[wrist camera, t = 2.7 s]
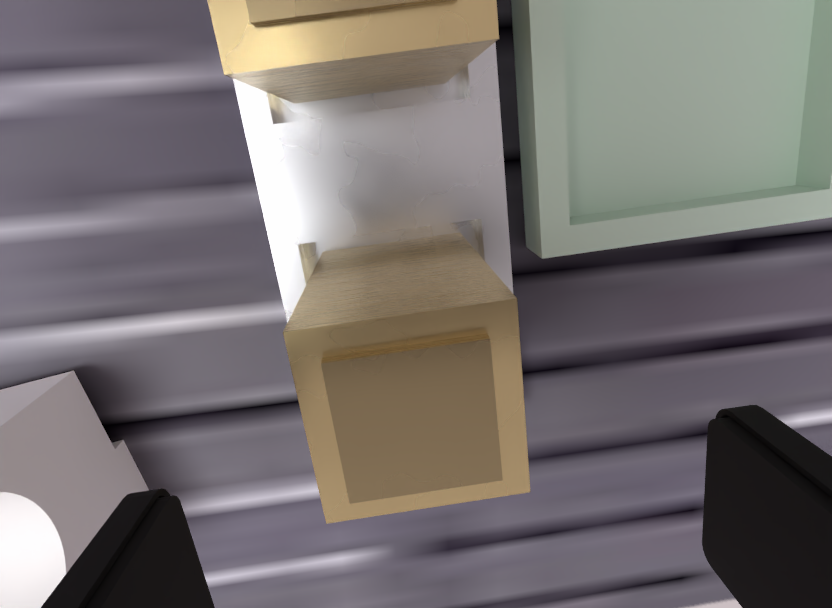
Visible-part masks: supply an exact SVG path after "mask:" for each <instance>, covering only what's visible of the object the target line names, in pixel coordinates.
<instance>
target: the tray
mask: <svg viewBox="0 0 832 608" xmlns="http://www.w3.org/2000/svg"><path fill="white" fill-rule="evenodd" d="M511 9H512V25H513V41H514V58H515V74H516V91H517V107H518V124H519V140H520V156H521V173H522V189H523V206H524V222H525V239H526V247H527V248H528V249H530V250H531V251H532V252H534V253H535V254H536V255H538V256H539V257H540V258H542V259H544V258H551V257H558V256H565V255H572V254H579V253H586V252H593V251H600V250H607V249H614V248H621V247H628V246H635V245H642V244H649V243H656V242H663V241H670V240H677V239H684V238H691V237H698V236H705V235H712V234H719V233H726V232H733V231H740V230H747V229H754V228H761V227H768V226H775V225H782V224H789V223H796V222H803V221H810V220H817V219H824V218H831V217H832V0H511Z"/></svg>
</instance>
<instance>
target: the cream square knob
mask: <svg viewBox="0 0 832 608" xmlns="http://www.w3.org/2000/svg"><path fill="white" fill-rule="evenodd" d="M207 1H208V5H209V10H210V14H211V18H212V23H213V27H214V32H215V36H216V40H217V45H218V49H219V54H220V58H221V62H222V67H223V71H224V75H226V76H228V77H231V78H233V79H236V80H238V81H241V82H243V83H245V84H248V85H250V86H253V87H255V88H258V89H260V90H263V91H265V92H267V93H270V94H272V95H275V96H277V97H280V98H282V99H284V100H287V101H289V102H292V103H294V104H295V103H303V102H310V101H318V100H325V99H333V98H340V97H348V96H355V95H363V94H370V93H378V92H385V91H393V90H400V89H408V88H415V87H423V86H430V85H438V84H445V83H446V82H447V81H449V80H450V79H451V78H452V77H454V76H455V75H456V74H457V73H458V72H460V71H461V70H462V69H463V68H464V67H466V66H467V65H468V64H469V63H470V62H472V61H473V60H474V59H475V58H476V57H478V56H479V55H480V54H481V53H483V52H484V51H485V50H486V49H487V48H489V47H490V46H491V45H492V44H493V43H495V42H496V41H497V40H498V39H499V29H498V14H497V0H207Z"/></svg>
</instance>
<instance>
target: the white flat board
mask: <svg viewBox="0 0 832 608" xmlns="http://www.w3.org/2000/svg"><path fill="white" fill-rule="evenodd" d="M233 81H234V86H235V90H236V95H237V99H238V104H239V108H240V113H241V117H242V121H243V126H244V130H245V135H246V139H247V144H248V148H249V153H250V157H251V162H252V166H253V171H254V175H255V180H256V184H257V189H258V193H259V198H260V202H261V207H262V211H263V216H264V220H265V225H266V229H267V234H268V238H269V243H270V247H271V252H272V256H273V260H274V265H275V269H276V274H277V278H278V283H279V287H280V292H281V296H282V301H283V305H284V310H285V314H286V319H287V323H288V321H289V319H290V317H291V315H292V313H293V311H294V309H295V307H296V305H297V303H298V301H299V299H300V297H301V295H302V293H303V291H304V289H305V287H306V285H307V283H308V281H309V279H310V276H311V274H312V272H313V270H314V268H315V266H316V264H317V262H318V260H319V258H320V256H321V254H322V252H325V251H332V250H339V249H346V248H353V247H360V246H367V245H374V244H381V243H389V242H396V241H403V240H410V239H417V238H424V237H431V236H438V235H445V234H452V233H461V234H462V235H463V236H464V237H465V239H466V240H467V241H468V242H469V243H470V244H471V246H472V247H473V248H474V249H475V250H476V251H477V253H478V254H479V255H480V256H481V257H482V258H483V259H484V261H485V262H486V263H487V264H488V265H489V266H490V268H491V269H492V270H493V271H494V272H495V273H496V275H497V276H498V277H499V278H500V279H501V280H502V282H503V283H504V284H505V285H506V286H507V287H508V288H509V290H510V291H511V292H512V293H513V281H512V267H511V253H510V239H509V225H508V211H507V197H506V183H505V169H504V155H503V141H502V126H501V112H500V98H499V84H498V70H497V56H496V42H495V43H493V44H492V45H491V46H490V47H489V48H487V49H486V50H485V51H484V52H483V53H481V54H480V55H479V56H478V57H476V58H475V59H474V60H473V61H472V62H470V63H469V64H468V65H467V66H466V67H464V68H463V69H462V70H461V71H460V72H458V73H457V74H456V75H455V76H454V77H452V78H451V79H450V80H449V81H447V82H446V83H445V84H438V85H430V86H423V87H415V88H408V89H400V90H393V91H385V92H378V93H370V94H363V95H355V96H348V97H340V98H333V99H325V100H318V101H310V102H303V103H295V104H294V103H292V102H289V101H287V100H284V99H282V98H280V97H277V96H275V95H272V94H270V93H267V92H265V91H263V90H260V89H258V88H255V87H253V86H250V85H248V84H245V83H243V82H241V81H238V80H236V79H233Z"/></svg>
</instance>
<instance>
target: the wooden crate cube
mask: <svg viewBox="0 0 832 608" xmlns="http://www.w3.org/2000/svg"><path fill="white" fill-rule="evenodd" d="M283 335H284V339H285V344H286V348H287V353H288V357H289V361H290V366H291V370H292V375H293V379H294V383H295V388H296V392H297V396H298V401H299V405H300V410H301V414H302V418H303V423H304V427H305V432H306V436H307V440H308V445H309V449H310V454H311V458H312V462H313V467H314V471H315V476H316V480H317V484H318V489H319V493H320V498H321V502H322V506H323V511H324V515H325V520H326V524H327V523H334V522H340V521H346V520H353V519H359V518H366V517H372V516H379V515H385V514H392V513H398V512H405V511H411V510H418V509H424V508H431V507H437V506H443V505H450V504H456V503H463V502H469V501H476V500H482V499H489V498H495V497H502V496H508V495H515V494H521V493H527V492H530V479H529V465H528V450H527V436H526V421H525V407H524V392H523V378H522V363H521V349H520V334H519V320H518V305H517V298H516V297H515V295H514V294H513V293H512V292H511V291H510V290H509V288H508V287H507V286H506V285H505V284H504V283H503V282H502V280H501V279H500V278H499V277H498V276H497V275H496V273H495V272H494V271H493V270H492V269H491V268H490V266H489V265H488V264H487V263H486V262H485V261H484V259H483V258H482V257H481V256H480V255H479V254H478V253H477V251H476V250H475V249H474V248H473V247H472V246H471V244H470V243H469V242H468V241H467V240H466V239H465V237H464V236H463V235H462V234H461V233H452V234H445V235H438V236H431V237H424V238H417V239H410V240H403V241H396V242H389V243H381V244H374V245H367V246H360V247H353V248H346V249H339V250H332V251H325V252H322V254H321V256H320V258H319V260H318V262H317V264H316V266H315V268H314V270H313V272H312V274H311V276H310V279H309V281H308V283H307V285H306V287H305V289H304V291H303V293H302V295H301V297H300V299H299V301H298V303H297V305H296V307H295V309H294V311H293V313H292V315H291V317H290V319H289V321H288V323H287V325H286V327H285V329H284V331H283Z"/></svg>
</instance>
